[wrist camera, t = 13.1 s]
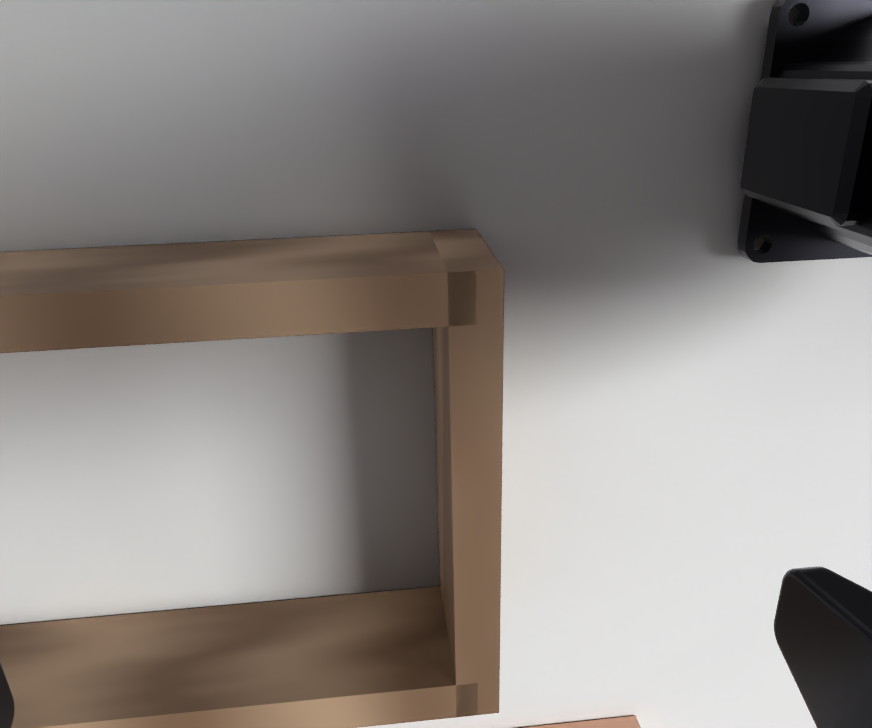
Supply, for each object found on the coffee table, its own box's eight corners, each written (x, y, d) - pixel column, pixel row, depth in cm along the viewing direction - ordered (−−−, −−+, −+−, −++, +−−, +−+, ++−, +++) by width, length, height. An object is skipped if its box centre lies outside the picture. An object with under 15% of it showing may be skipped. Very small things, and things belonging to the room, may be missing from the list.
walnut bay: (475, 229, 19) (504, 269, 15) (477, 611, 24) (499, 712, 20) (-202, 261, 17) (-355, 315, 14) (-48, 660, 22) (-128, 778, 19)
